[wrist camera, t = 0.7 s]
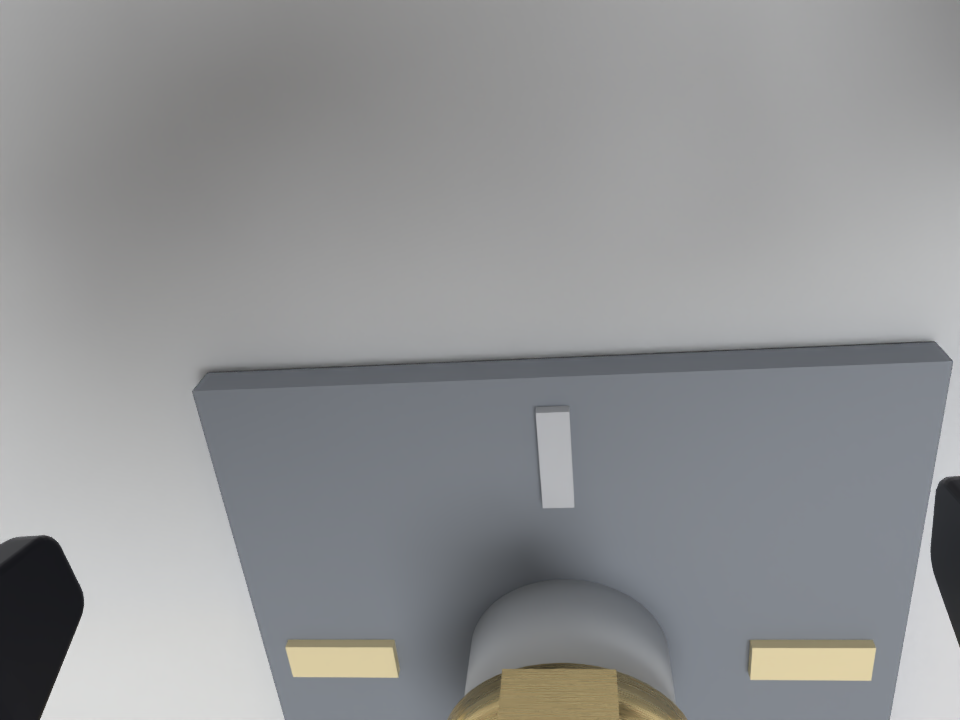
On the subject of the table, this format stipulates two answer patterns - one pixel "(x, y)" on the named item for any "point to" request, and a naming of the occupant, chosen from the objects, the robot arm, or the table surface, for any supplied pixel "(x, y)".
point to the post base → (584, 524)
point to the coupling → (564, 696)
